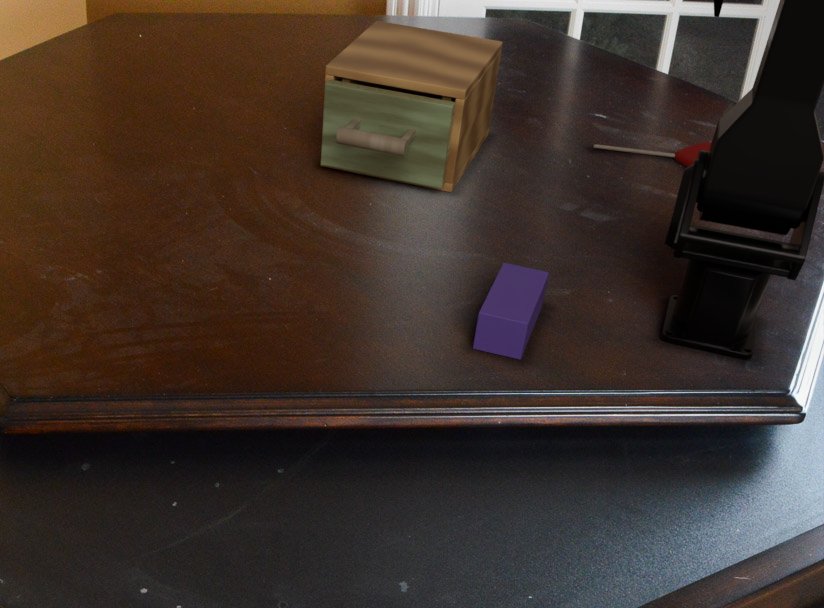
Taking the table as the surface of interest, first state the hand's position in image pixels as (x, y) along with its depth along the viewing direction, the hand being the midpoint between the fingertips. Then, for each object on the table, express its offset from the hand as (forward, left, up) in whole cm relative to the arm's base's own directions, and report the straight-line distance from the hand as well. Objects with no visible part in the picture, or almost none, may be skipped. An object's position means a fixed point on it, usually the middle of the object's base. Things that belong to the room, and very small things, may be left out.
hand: (771, 24), depth 90 cm
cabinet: (-6, +29, -15) cm, 33 cm away
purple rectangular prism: (-34, +13, -15) cm, 39 cm away
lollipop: (+4, +5, -15) cm, 16 cm away
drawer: (-10, +29, -14) cm, 34 cm away
